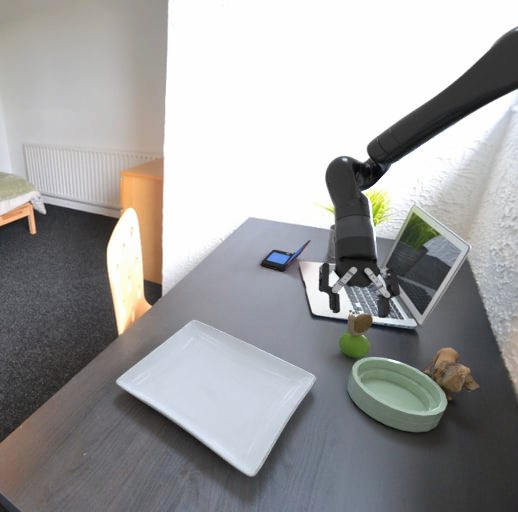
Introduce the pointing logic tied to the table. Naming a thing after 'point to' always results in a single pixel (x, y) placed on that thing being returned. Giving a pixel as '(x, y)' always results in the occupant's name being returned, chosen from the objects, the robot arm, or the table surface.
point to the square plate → (220, 392)
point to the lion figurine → (450, 373)
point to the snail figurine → (356, 335)
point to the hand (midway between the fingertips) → (359, 314)
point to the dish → (396, 394)
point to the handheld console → (281, 258)
